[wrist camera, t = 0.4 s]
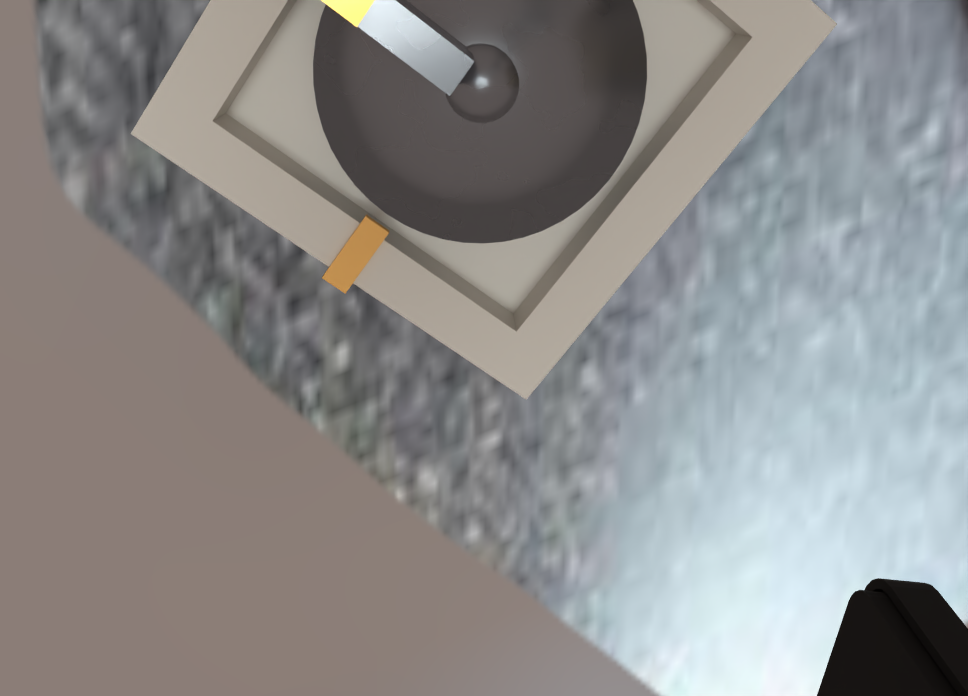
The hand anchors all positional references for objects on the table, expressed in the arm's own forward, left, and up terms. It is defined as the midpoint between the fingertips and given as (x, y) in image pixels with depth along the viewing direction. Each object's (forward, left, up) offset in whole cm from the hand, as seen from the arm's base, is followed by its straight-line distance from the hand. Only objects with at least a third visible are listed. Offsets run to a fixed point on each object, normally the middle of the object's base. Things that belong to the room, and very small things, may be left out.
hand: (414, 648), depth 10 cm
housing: (-4, -1, -28) cm, 28 cm away
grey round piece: (-4, -1, -26) cm, 26 cm away
